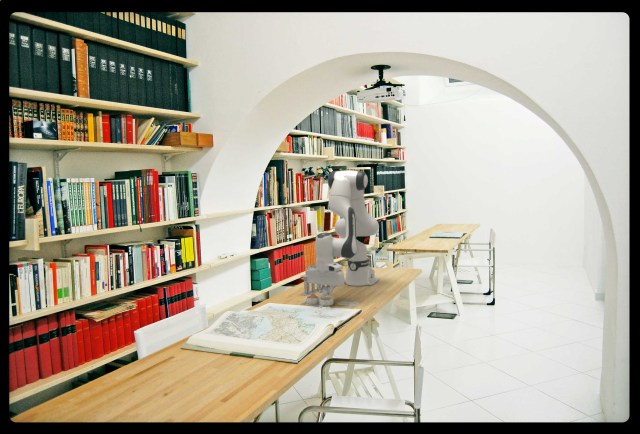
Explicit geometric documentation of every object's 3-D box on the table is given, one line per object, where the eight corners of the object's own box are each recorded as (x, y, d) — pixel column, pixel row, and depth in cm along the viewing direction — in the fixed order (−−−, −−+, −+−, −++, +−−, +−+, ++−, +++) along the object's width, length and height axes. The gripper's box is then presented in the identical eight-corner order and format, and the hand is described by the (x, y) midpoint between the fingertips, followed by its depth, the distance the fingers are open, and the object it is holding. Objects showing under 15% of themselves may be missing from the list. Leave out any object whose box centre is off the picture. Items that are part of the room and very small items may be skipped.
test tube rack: (306, 296, 257) (305, 272, 256) (300, 295, 260) (299, 271, 259) (335, 287, 276) (334, 264, 275) (329, 286, 279) (328, 263, 278)
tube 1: (311, 299, 249) (310, 294, 248) (322, 301, 245) (321, 296, 245) (303, 302, 243) (303, 297, 243) (314, 304, 239) (314, 299, 239)
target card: (310, 300, 249) (310, 299, 249) (335, 303, 241) (335, 302, 241) (299, 305, 240) (299, 304, 240) (325, 308, 232) (325, 307, 232)
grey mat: (342, 301, 244) (342, 300, 243) (360, 303, 238) (360, 303, 238) (336, 304, 238) (336, 303, 238) (354, 307, 233) (354, 306, 233)
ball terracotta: (307, 302, 243) (307, 294, 243) (311, 300, 247) (311, 292, 246) (313, 303, 241) (314, 295, 241) (318, 301, 244) (318, 294, 244)
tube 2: (324, 301, 244) (323, 296, 244) (335, 302, 240) (335, 297, 240) (316, 304, 239) (316, 299, 238) (328, 306, 235) (328, 301, 235)
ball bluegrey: (320, 296, 238) (320, 288, 238) (324, 294, 242) (324, 286, 241) (327, 297, 236) (326, 289, 236) (331, 295, 240) (331, 287, 239)
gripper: (303, 265, 241) (305, 292, 242) (339, 268, 230) (340, 296, 231) (310, 263, 246) (311, 290, 247) (345, 266, 235) (346, 293, 236)
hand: (325, 293), depth 239 cm, fingers closed on ball bluegrey, 4 cm apart
